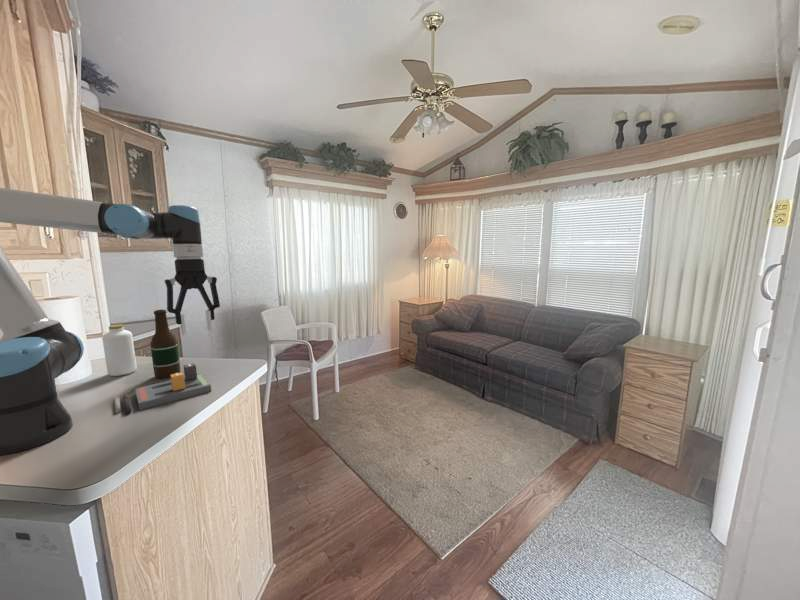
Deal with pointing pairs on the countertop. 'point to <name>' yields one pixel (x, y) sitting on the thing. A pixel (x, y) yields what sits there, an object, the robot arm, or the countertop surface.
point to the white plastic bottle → (119, 351)
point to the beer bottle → (164, 348)
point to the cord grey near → (117, 405)
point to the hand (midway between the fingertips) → (197, 332)
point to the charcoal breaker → (190, 371)
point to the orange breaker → (177, 381)
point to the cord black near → (126, 405)
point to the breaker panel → (170, 392)
